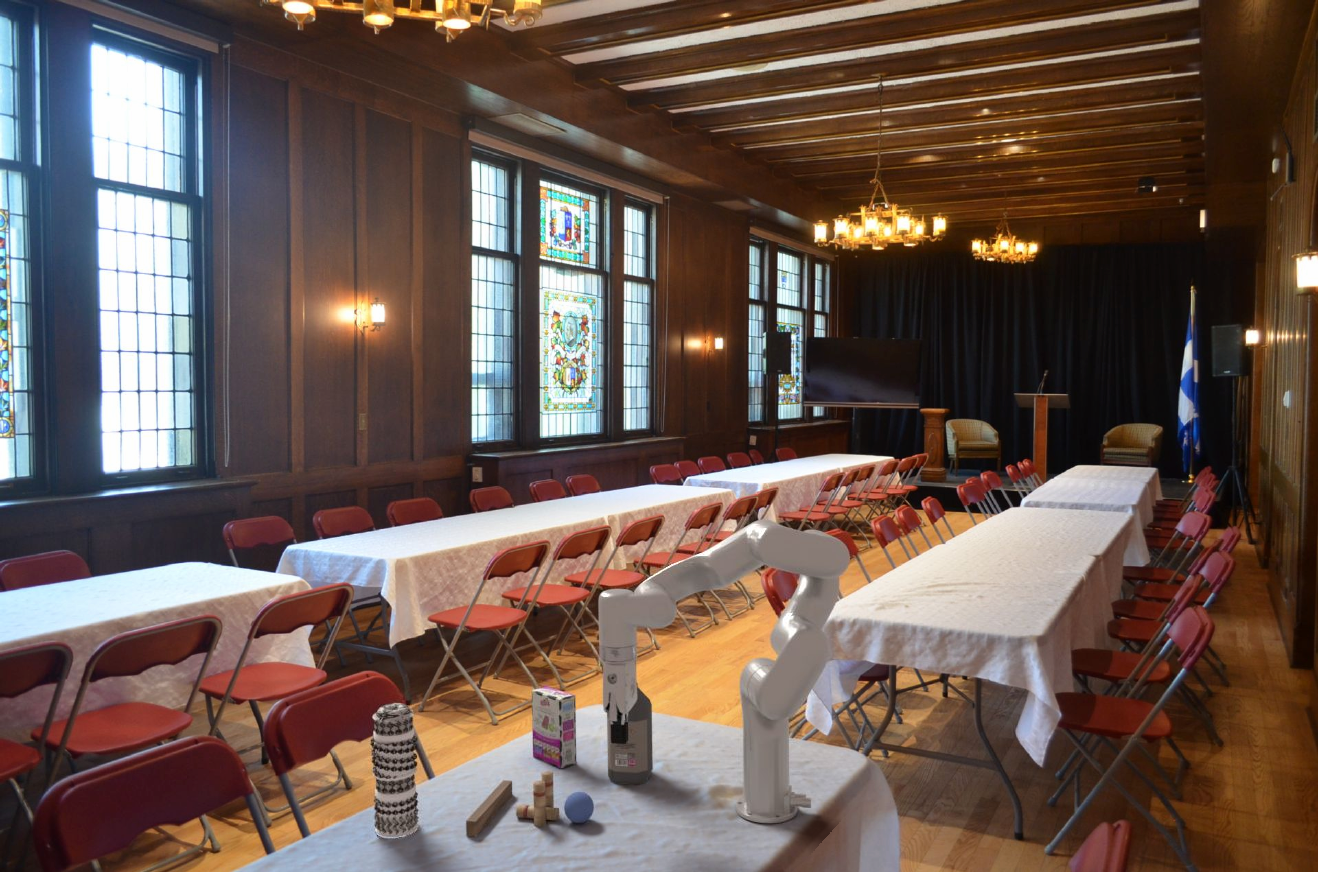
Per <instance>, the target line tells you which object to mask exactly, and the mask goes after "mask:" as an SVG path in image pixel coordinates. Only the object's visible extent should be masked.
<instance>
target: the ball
mask: <svg viewBox="0 0 1318 872" xmlns="http://www.w3.org/2000/svg"><path fill="white" fill-rule="evenodd" d="M594 806H595V804H594V800H593V799H592V797H591V796H590V795H589V794H588V793H586V792H584V791H576V792H572V793H571V794H570V795H568V797H567V798H566V800H565V801H564V806H563V807H564V809H563V810H564V814H565V817H567V819H568V820H569V821H571V822H572V823H575V824H582V823H585V822H587V821H589V819H590V818H591V817H592V816H593V813H594V810H595V807H594Z"/></svg>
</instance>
